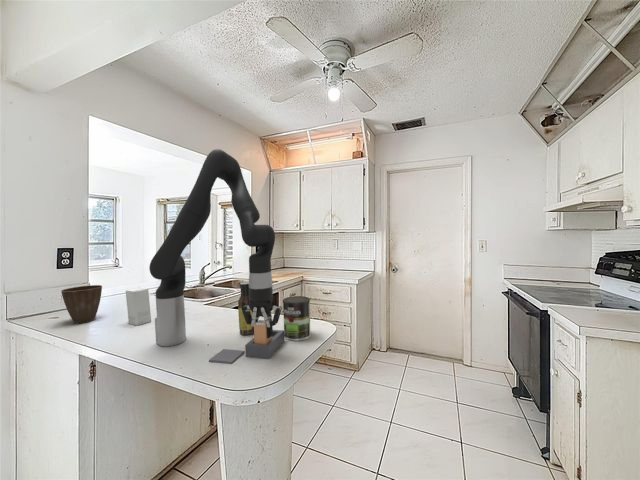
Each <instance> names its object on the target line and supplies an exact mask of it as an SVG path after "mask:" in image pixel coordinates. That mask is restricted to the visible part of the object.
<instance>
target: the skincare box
mask: <svg viewBox="0 0 640 480" xmlns="http://www.w3.org/2000/svg"><path fill="white" fill-rule="evenodd" d="M125 299H126V308H127V309H126V310H127V316H128V317H127V319H128V324H130V325H134V326H141V325H143V324H147V323H151V322H152V316H151V315H152V313H151V305H150V304H151V303H150V293H149V288H145V287H136V288H133V289H132V288H131V289H126V290H125Z"/></svg>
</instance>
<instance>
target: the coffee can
mask: <svg viewBox="0 0 640 480" xmlns="http://www.w3.org/2000/svg"><path fill="white" fill-rule="evenodd" d="M310 301H311V299H310V297H308V296H303V295H301V296H300V295H293V296H289V297H284V298H283V299H282V307H283V308H282V310H283V330H284V337H285V339H286V340H287V341H293V342H297V341H298V342H299V341H304V340H307V339H309V338H311V336H312V335H311V309H310V308H311V304H310Z"/></svg>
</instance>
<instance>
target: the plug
mask: <svg viewBox="0 0 640 480" xmlns="http://www.w3.org/2000/svg"><path fill="white" fill-rule="evenodd" d="M253 338H254V342H255V344H266V343H267V342H268V341H269V340H271V337H270V338H267V325H266V322H265V320H264V319H258V321H257V322H256V324H255V325H254V336H253Z"/></svg>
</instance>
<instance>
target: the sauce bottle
mask: <svg viewBox="0 0 640 480" xmlns="http://www.w3.org/2000/svg"><path fill="white" fill-rule="evenodd" d="M239 288H240V296H239V299H238V300H237V305H238V307H237V308H238V327H239V334H240V335H243V336H248V335H251V334H252V326H251V325H250V324H247V323H246V321H245V318H244V315H243V312H242V309H241V308H242V307H243V306H245V305H249V303H250V299H249V282H241V283H239ZM250 313H251V316H252V315H253V312H252V311H251V309H250ZM252 335H253V334H252Z"/></svg>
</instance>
